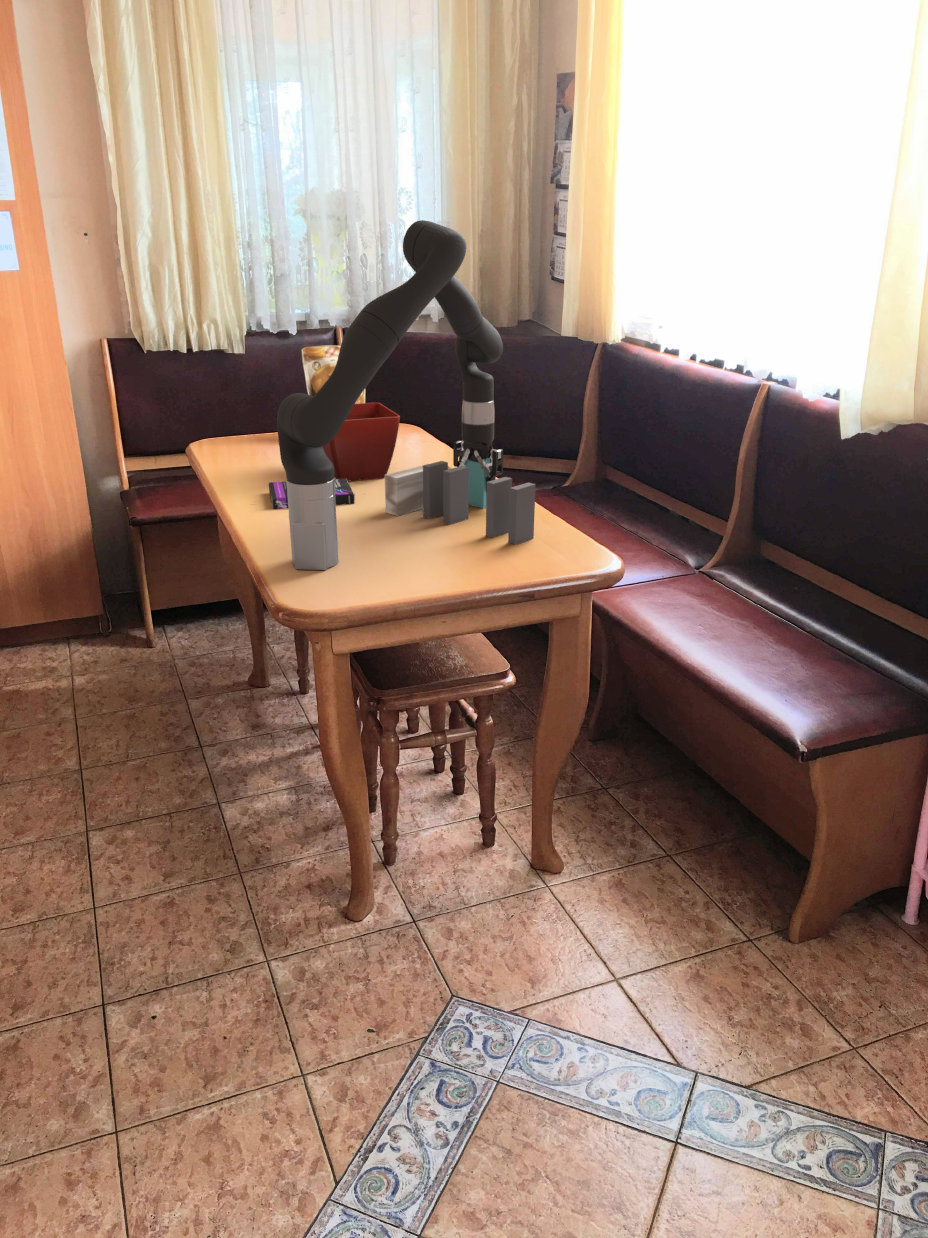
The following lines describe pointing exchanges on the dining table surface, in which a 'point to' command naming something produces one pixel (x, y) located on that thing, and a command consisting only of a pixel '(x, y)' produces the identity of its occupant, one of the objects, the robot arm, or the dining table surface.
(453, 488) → the domino
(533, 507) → the domino
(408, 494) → the block
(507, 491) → the domino
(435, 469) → the domino
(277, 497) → the box
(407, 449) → the dining table surface
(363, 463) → the plant pot
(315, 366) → the pancake mix bag
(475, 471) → the domino
